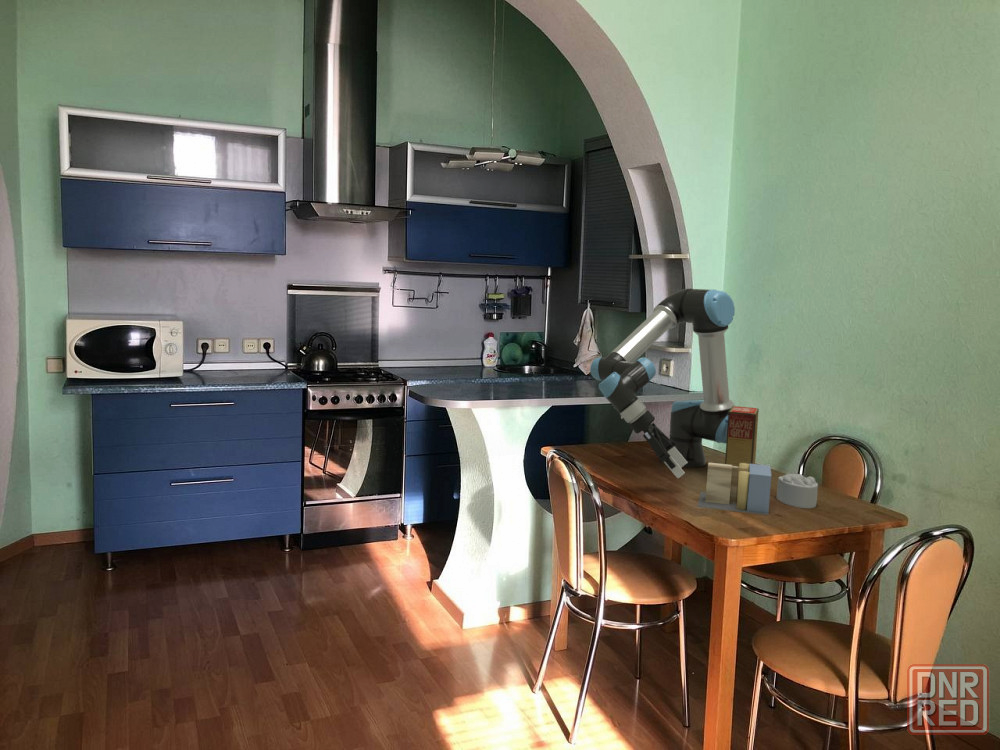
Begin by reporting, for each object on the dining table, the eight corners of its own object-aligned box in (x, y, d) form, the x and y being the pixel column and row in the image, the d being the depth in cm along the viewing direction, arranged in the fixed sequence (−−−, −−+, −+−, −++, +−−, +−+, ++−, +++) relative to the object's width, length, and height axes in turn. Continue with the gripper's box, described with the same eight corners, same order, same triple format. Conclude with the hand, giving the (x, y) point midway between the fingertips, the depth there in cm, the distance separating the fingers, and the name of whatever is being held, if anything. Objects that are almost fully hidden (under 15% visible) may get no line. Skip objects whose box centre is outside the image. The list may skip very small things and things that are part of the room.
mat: (700, 493, 263) (700, 491, 263) (766, 500, 258) (766, 498, 257) (697, 508, 246) (697, 506, 246) (768, 516, 240) (768, 514, 240)
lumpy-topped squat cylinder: (804, 498, 262) (806, 471, 261) (823, 510, 250) (826, 482, 248) (772, 498, 261) (774, 471, 260) (790, 510, 249) (793, 482, 247)
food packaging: (726, 477, 285) (731, 405, 282) (754, 480, 282) (760, 408, 279) (721, 486, 273) (727, 411, 270) (751, 490, 270) (758, 414, 267)
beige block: (705, 497, 256) (708, 462, 255) (744, 501, 253) (747, 466, 252) (705, 501, 251) (707, 466, 250) (744, 506, 248) (747, 470, 247)
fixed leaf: (736, 497, 258) (739, 462, 257) (767, 500, 256) (770, 465, 254) (736, 509, 245) (739, 472, 243) (768, 513, 242) (771, 476, 241)
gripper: (633, 417, 270) (676, 468, 268) (623, 432, 246) (670, 488, 244) (651, 402, 268) (694, 454, 266) (642, 416, 244) (690, 472, 242)
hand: (683, 470), depth 255 cm, fingers open, 13 cm apart
